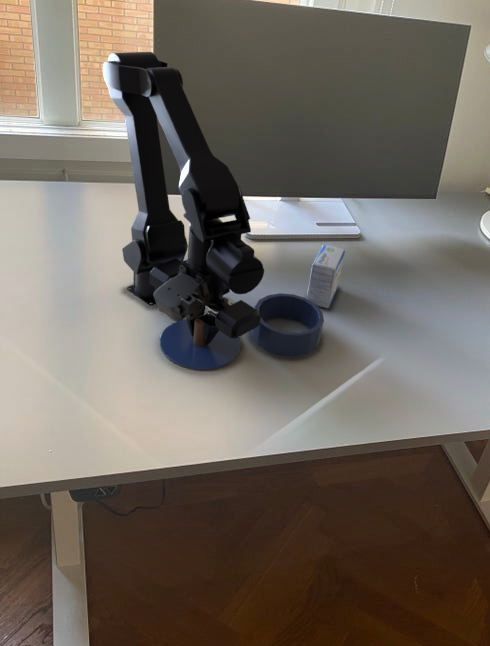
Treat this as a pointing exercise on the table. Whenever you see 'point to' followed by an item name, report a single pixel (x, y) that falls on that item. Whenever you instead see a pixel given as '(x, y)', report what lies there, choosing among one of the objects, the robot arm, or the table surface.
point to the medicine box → (325, 275)
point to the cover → (197, 347)
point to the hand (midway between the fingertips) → (200, 339)
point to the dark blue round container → (288, 341)
